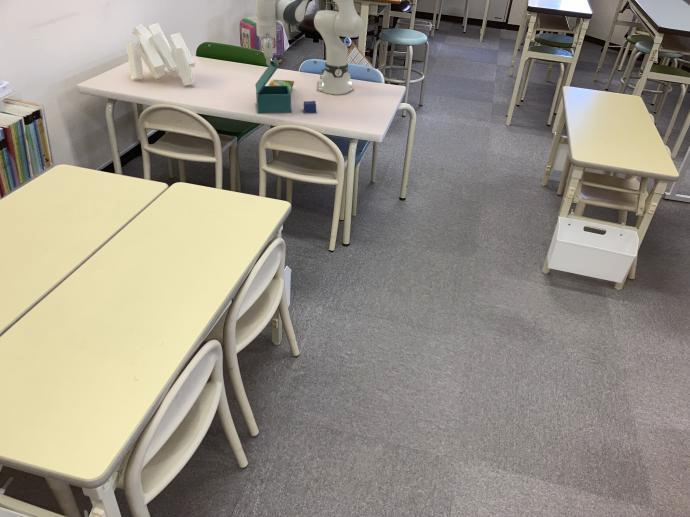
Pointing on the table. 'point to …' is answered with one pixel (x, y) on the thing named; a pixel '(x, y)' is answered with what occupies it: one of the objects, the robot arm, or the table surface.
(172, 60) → the pile of blocks
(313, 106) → the block
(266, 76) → the cooler lid
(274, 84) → the puzzle game
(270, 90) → the cooler
